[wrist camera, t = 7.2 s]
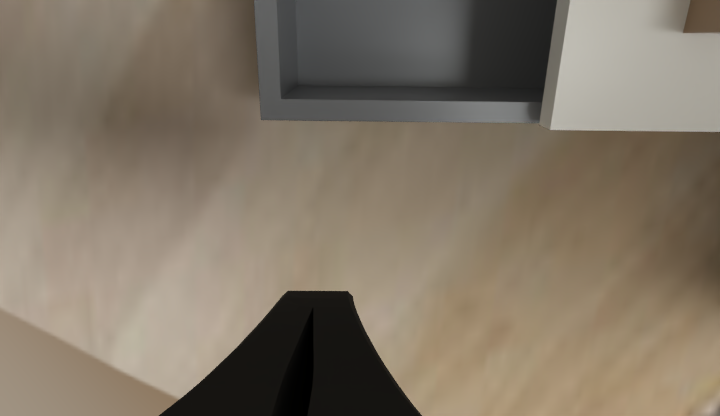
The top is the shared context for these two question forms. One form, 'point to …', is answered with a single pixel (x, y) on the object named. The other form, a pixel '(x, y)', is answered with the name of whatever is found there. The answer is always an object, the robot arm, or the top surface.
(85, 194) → the top surface
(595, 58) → the lid
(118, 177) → the top surface
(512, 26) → the storage box
